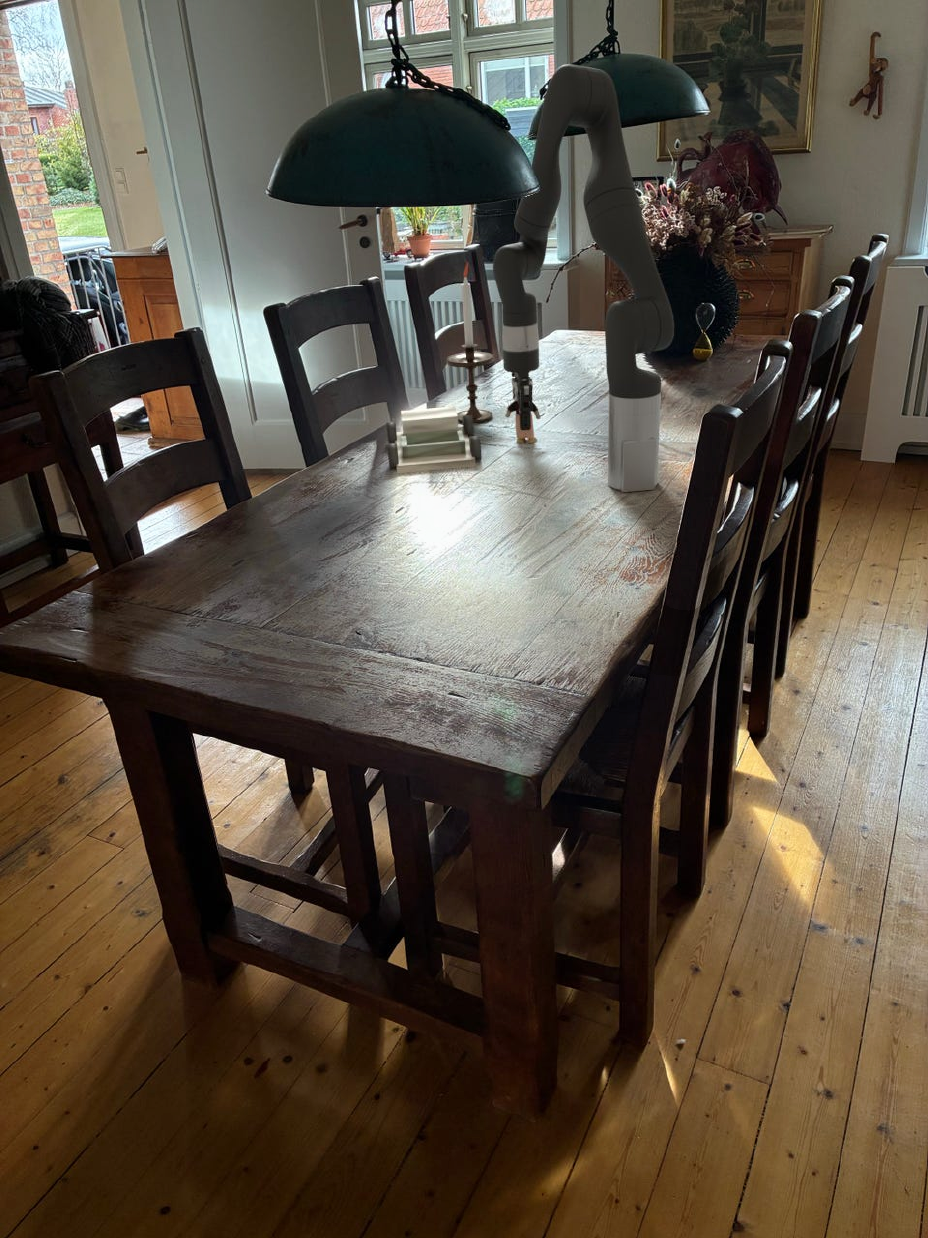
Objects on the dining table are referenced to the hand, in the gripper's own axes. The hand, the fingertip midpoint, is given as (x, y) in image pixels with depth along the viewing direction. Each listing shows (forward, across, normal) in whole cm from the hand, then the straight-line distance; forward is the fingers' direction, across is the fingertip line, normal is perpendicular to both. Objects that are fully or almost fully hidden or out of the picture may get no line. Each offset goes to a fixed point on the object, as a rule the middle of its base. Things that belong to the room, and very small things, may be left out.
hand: (523, 425), depth 198 cm
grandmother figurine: (+4, 0, 0) cm, 4 cm away
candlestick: (+4, +21, +9) cm, 23 cm away
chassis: (+3, -2, +20) cm, 20 cm away
